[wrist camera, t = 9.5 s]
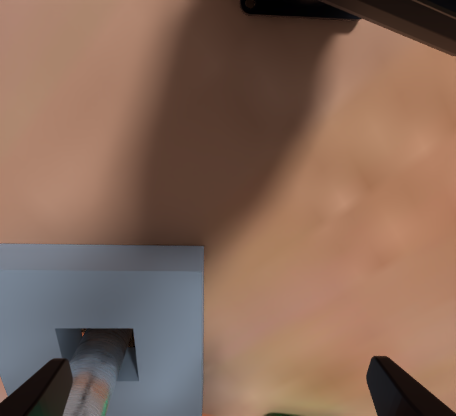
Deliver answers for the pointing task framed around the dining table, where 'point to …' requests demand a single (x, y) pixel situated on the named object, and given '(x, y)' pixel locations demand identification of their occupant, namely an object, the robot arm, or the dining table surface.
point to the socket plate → (108, 317)
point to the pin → (96, 370)
